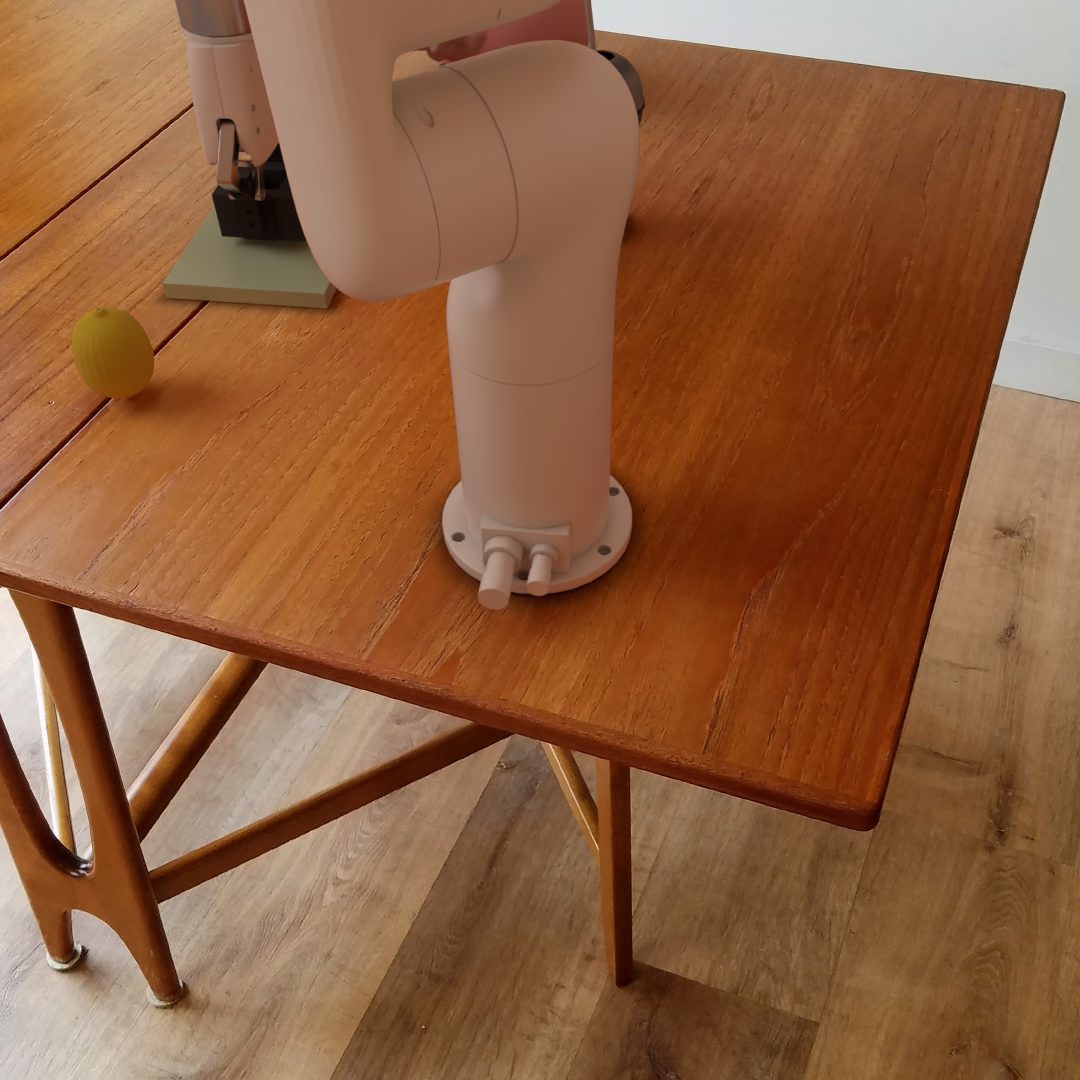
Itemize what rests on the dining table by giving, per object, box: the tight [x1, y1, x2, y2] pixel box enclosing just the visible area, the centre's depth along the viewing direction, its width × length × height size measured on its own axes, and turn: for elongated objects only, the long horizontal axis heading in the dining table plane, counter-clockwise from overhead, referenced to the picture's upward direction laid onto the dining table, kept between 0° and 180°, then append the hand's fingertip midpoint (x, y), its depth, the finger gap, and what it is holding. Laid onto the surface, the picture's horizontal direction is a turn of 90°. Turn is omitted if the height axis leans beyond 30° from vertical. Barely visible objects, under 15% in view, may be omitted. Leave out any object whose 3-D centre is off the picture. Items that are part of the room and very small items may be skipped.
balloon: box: [413, 0, 589, 65], centre depth 114 cm, size 15×20×15 cm
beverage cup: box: [585, 0, 646, 129], centre depth 96 cm, size 7×7×20 cm
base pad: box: [161, 205, 338, 310], centre depth 101 cm, size 18×14×4 cm
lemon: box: [71, 306, 155, 400], centre depth 85 cm, size 6×6×8 cm
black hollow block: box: [211, 161, 306, 242], centre depth 99 cm, size 6×8×4 cm
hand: (272, 215), depth 100 cm, fingers closed on black hollow block, 6 cm apart
